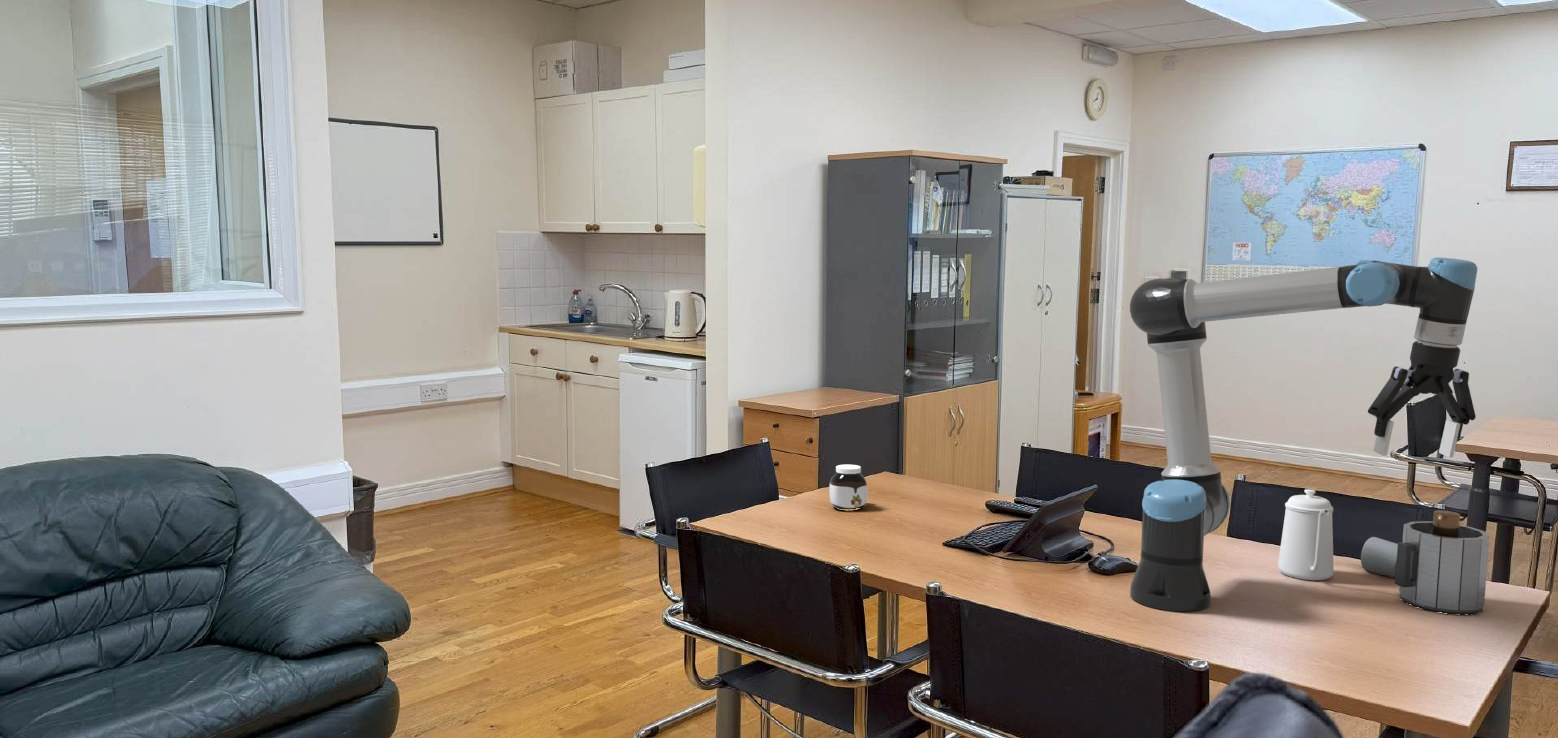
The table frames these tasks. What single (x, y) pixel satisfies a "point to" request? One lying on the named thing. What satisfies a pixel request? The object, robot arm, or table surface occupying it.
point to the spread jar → (848, 487)
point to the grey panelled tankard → (1442, 569)
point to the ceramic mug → (1379, 556)
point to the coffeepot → (1307, 538)
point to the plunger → (1446, 523)
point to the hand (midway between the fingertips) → (1413, 454)
